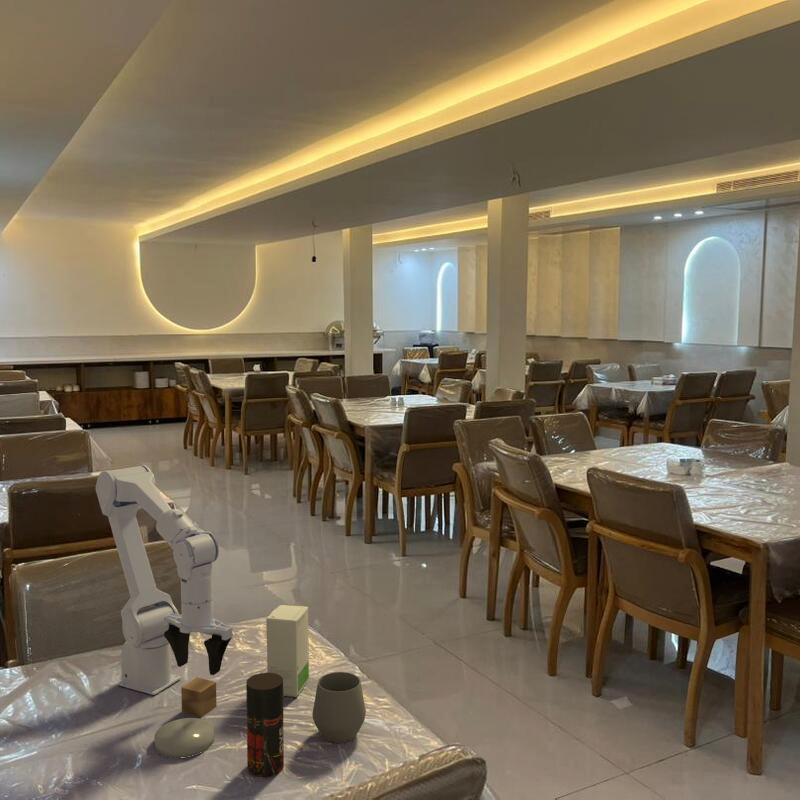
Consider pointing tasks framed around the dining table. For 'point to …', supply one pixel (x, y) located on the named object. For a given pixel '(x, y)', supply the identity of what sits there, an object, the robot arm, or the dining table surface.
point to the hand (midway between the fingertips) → (198, 668)
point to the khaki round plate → (184, 737)
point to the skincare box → (289, 647)
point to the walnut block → (198, 697)
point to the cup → (339, 706)
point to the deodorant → (265, 725)
